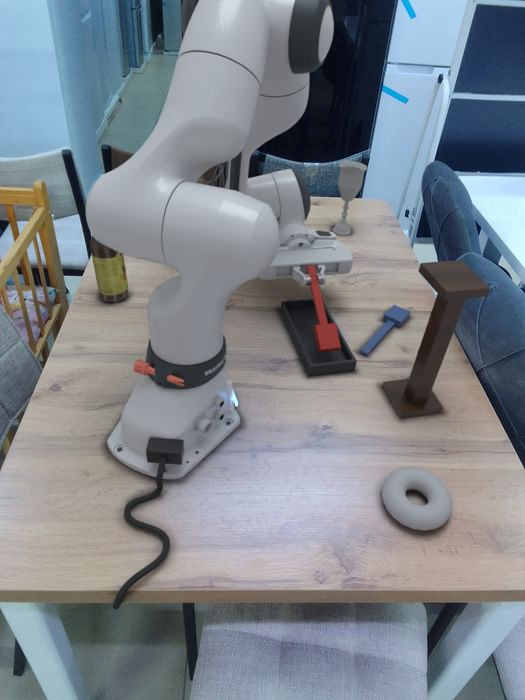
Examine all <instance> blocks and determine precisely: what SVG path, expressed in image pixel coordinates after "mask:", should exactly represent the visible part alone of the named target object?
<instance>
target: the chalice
mask: <svg viewBox="0 0 525 700" xmlns="http://www.w3.org/2000/svg"><path fill="white" fill-rule="evenodd" d="M338 167H339V173H338V174H339V175H338V181H337V186H338V191H339V194H340V198H341V200H342V201H344V204H343V206H342V209H343V211H342V212H341V219H340V220H339V221H337V222H336V223H335V225H334V227H333V228H332V232H333V233H335V234H337V235H340V236H341V235H342V236H343V235H344V236H347V235H350V234H351V233H352V230H351V227H350V225H351V224H350V223H349V222H348V221H347V216H348V215H349V214H348V210H349V209H350V207H349V203H350V202H352V201H354V200H355V198H356V197H357V195H358V194H359V192H360V190H361V189H362V187H363V182H364V177H365V173H366V171H367V170H368V166H367V165H365V164H364V163H361V162H359V161H352V160H351V161H350V160H345V161H341V162H339V163H338Z"/></svg>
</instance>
